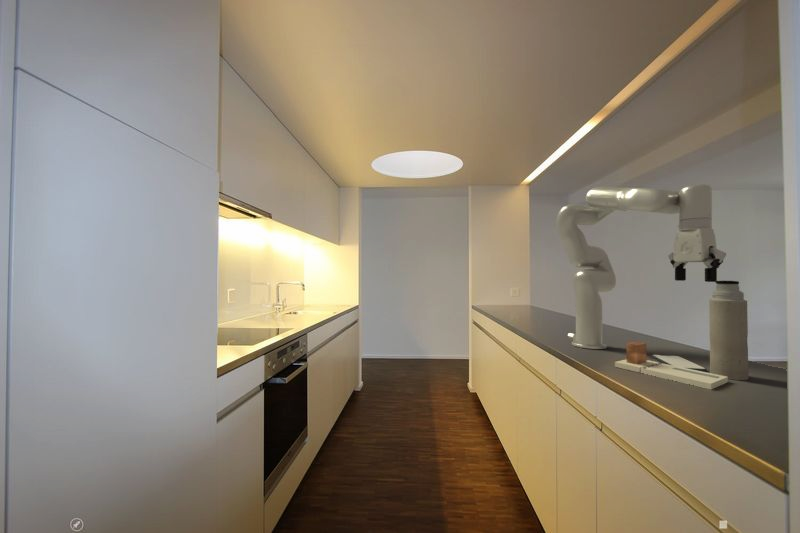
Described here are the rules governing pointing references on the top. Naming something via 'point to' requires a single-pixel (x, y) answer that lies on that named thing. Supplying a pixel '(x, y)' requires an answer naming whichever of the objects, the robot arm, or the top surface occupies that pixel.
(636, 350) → the stub
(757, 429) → the top surface
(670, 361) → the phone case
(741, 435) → the top surface
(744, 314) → the thermos bottle
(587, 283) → the robot arm
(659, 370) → the flat white tray
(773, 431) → the top surface
